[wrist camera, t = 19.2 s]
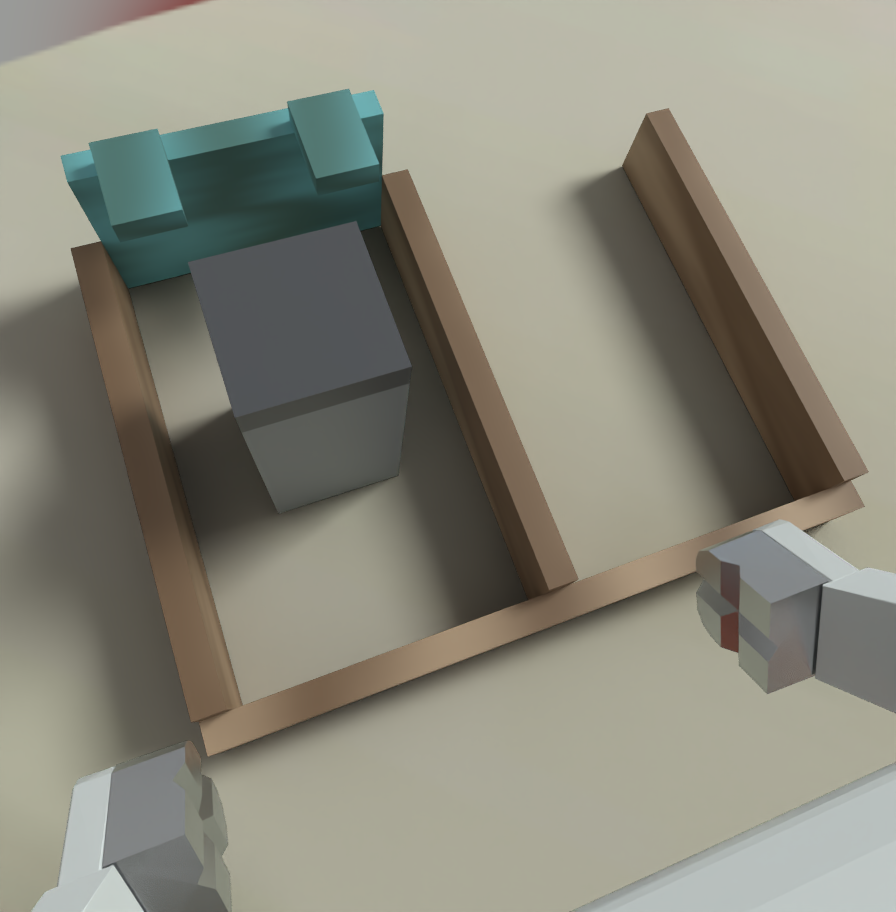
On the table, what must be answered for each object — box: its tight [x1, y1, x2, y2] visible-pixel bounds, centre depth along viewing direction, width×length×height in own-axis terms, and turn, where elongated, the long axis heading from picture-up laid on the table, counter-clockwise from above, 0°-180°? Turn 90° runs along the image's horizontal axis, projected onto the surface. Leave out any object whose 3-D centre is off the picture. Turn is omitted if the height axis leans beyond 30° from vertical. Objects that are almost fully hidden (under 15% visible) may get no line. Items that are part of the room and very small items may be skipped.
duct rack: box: [61, 89, 869, 756], centre depth 25 cm, size 23×18×7 cm
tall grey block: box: [188, 221, 412, 514], centre depth 23 cm, size 4×4×9 cm
